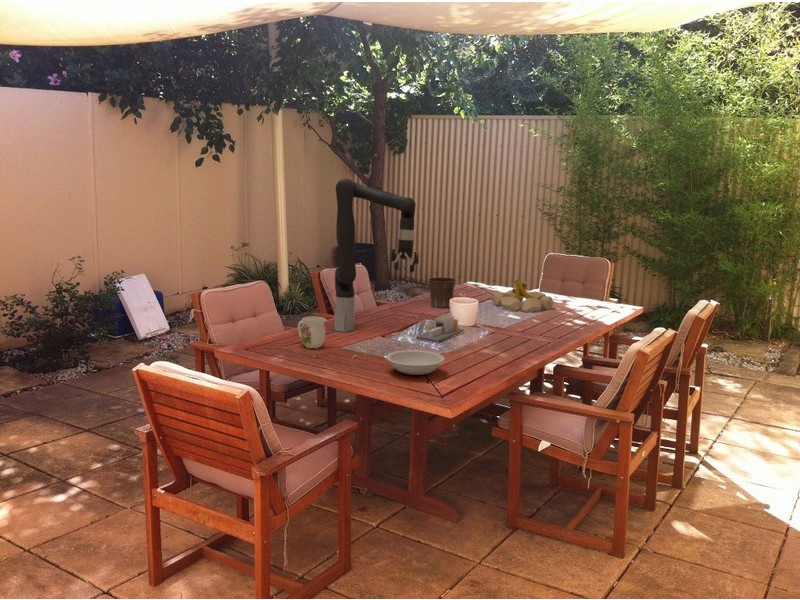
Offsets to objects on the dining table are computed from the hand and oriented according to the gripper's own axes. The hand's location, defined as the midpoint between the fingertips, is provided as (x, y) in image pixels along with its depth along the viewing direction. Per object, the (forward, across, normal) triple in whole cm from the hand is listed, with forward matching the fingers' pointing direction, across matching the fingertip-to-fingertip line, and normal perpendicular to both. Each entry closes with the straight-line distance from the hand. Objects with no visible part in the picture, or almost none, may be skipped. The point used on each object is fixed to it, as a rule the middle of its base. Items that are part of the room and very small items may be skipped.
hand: (404, 271), depth 387 cm
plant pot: (+30, -16, +74) cm, 81 cm away
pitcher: (+33, -18, -49) cm, 62 cm away
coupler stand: (+30, +20, +6) cm, 37 cm away
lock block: (+29, +19, +10) cm, 36 cm away
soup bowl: (+32, +42, -59) cm, 79 cm away
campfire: (+29, +23, +104) cm, 110 cm away
